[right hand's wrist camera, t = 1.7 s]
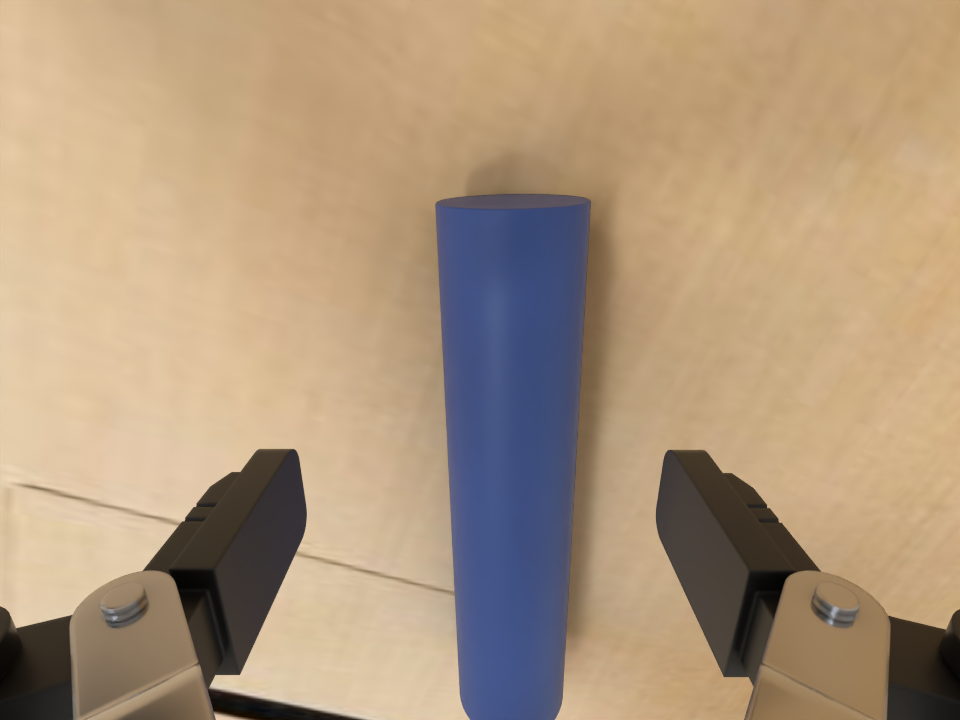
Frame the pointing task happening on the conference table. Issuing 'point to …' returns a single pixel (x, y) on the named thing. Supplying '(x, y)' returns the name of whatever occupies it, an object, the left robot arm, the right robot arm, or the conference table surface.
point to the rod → (512, 438)
